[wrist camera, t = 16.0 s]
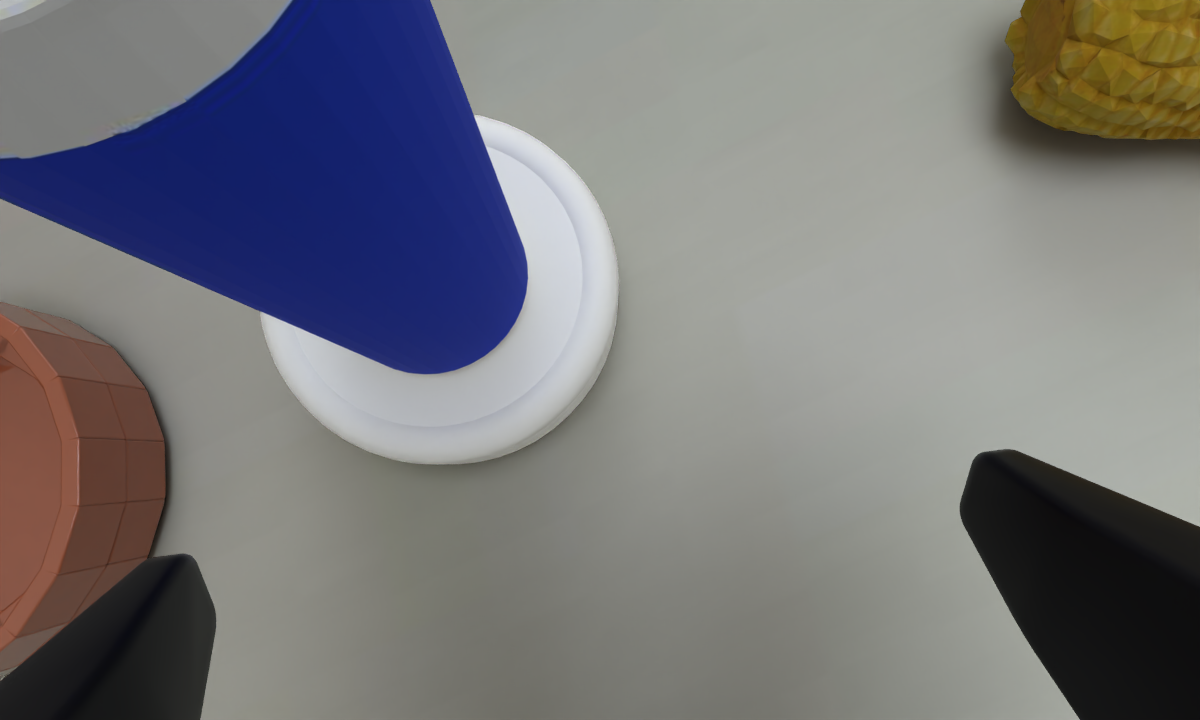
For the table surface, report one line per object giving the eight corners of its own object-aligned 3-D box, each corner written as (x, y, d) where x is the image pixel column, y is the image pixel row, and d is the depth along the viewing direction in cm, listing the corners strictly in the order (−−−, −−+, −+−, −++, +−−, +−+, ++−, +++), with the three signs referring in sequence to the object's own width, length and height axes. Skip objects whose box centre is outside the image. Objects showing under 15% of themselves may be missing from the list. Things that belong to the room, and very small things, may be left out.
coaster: (238, 305, 23) (174, 278, 20) (464, 96, 24) (440, 34, 21) (454, 532, 22) (426, 545, 19) (682, 304, 23) (695, 276, 20)
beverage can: (363, 176, 20) (-334, -646, 5) (546, 207, 20) (374, -545, 5) (320, 358, 19) (-629, 19, 4) (510, 392, 19) (181, 160, 4)
